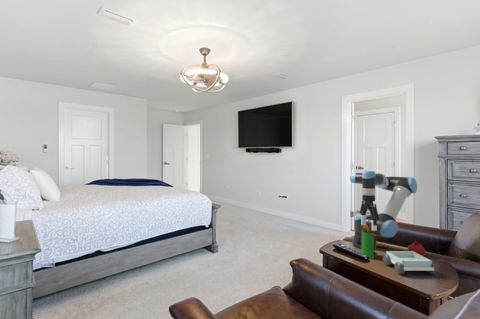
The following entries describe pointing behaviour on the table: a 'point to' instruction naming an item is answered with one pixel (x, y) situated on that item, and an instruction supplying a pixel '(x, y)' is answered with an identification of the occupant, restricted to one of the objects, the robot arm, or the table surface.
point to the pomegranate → (417, 248)
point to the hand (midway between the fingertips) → (368, 227)
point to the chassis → (408, 262)
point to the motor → (368, 243)
